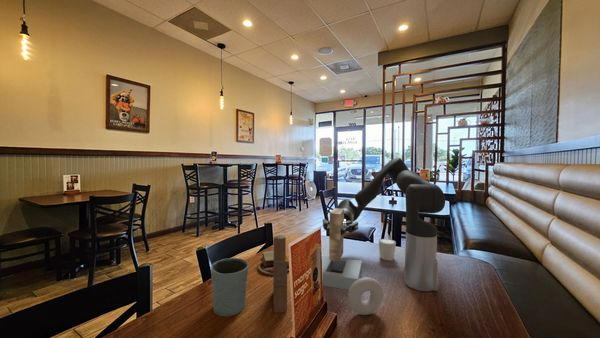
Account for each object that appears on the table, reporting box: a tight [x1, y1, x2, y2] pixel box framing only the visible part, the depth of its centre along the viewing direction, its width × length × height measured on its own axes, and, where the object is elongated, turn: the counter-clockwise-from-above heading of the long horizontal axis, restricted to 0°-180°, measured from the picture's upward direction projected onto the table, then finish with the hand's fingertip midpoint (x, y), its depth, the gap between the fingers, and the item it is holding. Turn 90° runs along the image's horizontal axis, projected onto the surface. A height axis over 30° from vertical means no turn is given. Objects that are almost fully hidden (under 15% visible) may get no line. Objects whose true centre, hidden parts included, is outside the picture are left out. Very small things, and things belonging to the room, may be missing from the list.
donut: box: [347, 276, 384, 316], centre depth 67 cm, size 10×3×10 cm, turn 104°
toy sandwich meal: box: [258, 250, 290, 276], centre depth 95 cm, size 12×14×5 cm
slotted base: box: [321, 255, 363, 291], centre depth 88 cm, size 16×14×4 cm
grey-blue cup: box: [210, 257, 249, 317], centre depth 70 cm, size 10×10×12 cm
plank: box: [328, 207, 345, 261], centre depth 87 cm, size 4×8×16 cm, turn 161°
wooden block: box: [272, 234, 288, 313], centre depth 73 cm, size 4×11×18 cm, turn 7°
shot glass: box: [378, 238, 397, 261], centre depth 105 cm, size 7×7×7 cm
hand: (335, 231), depth 85 cm, fingers closed on plank, 3 cm apart
